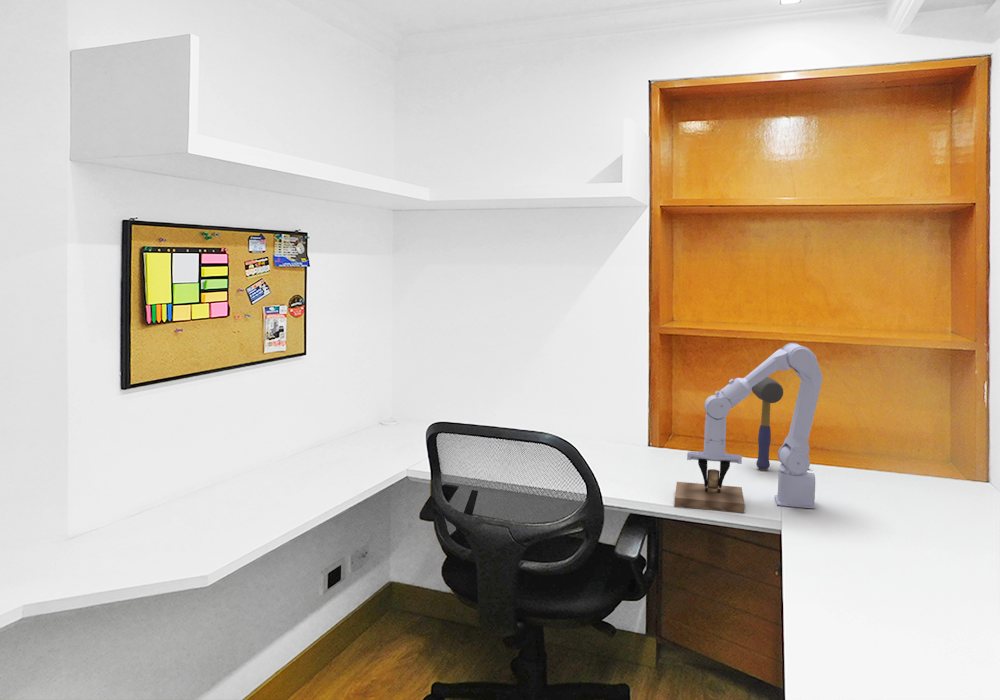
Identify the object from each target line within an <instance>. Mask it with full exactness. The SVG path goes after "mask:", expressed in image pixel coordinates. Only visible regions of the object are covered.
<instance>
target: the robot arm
mask: <svg viewBox="0 0 1000 700" xmlns="http://www.w3.org/2000/svg"><path fill="white" fill-rule="evenodd" d="M791 369H792V370H794V372H795V373H796V375H797V376H798V377H799V378H800V384H799V388H798V392H797V395H796V397H797V398H796V401H795V405H794V409H793V414H792V419H791V422H790V427H789V432H788V435H787V436H786V437H785V438H784V441H783V444H782V445H781V446H780V447H779V449H778V450H777V458H778V461H779V462H780V463H781V464H780V466H779V467H778V478H777V479H778V481H777V483H778V484H777V494H775V495H774V500H775V502H776V505H777V506H781V507H793V508H794V507H795V508H802V509H803V508H804V509H815V499H816V476H815V473H814V472H808V470H809V468H810V465H811V461H810V460H811V459H810V457H809V454H810V444H809V438H810V435H811V434H810V433H811V430H812V425H813V421H814V418H815V417H814V416H815V412H816V408H817V404H818V400H819V396H820V393H821V387H822V384H823V378H824V377H823V374H822V371H821V368H820V365H819V362H818V357H817V356H816V354H815V353H814V352H813V351H812V350H811V349H810V348H809V347H807V346H804V345H801V344H799V343H796V342H790V343H787V344H785V345H784V346H783V347H781V348H779V349H777V350H776V351H774V353H772V354H771V355H770V356H769V357H767V359H765V360H764V361H763V362H762V363H760V364H759V365H758V366H757V367H755V368H754V369H753V370H752V371H750V372H749V373H748V374H747V375H745V376H744V377H743V378H742V377H736V378H734V379H733V378H730V380H729V381H728V384H727V385H725V386H724V387H723V388H721V389H720V390H715V392H714V395H713V394H712V395H710V396H708V397H707V398H706V400H705V402H704V403H703V408H704V411H705V418H704V419H705V420H704V433H703V434H704V437H703V451H687V452H686V453H687V455H686V456H687V457H686V460H687V461H691V460H693V461H694V460H695V461H697V463H698V467H699V468H700V469H699V470H700V471H701V475H702V477H703V482H704V483H703V484H704V485H705V487H707V473H708V461H709V462H719V464H720V465H719V471H720V472H719V488H721V487H722V486H723V483H724V478H725V476H726V475H727V472H728V470H729V469H730V466H731V463H734V464H735V463H736V464H740V465H741V464H742V460H743V457H742V455H741V454H740V455H739V454H732V453H726V436H727V416H728V415H729V413H730V409H732V408H734V407H736V406H737V405H738V404H740V403H741V402H742V401H744V400H745V399H746V398H747V397H748V396H750V395H751V394H752V387H753V386H755V385H756V384H758V383H759V382H761V381H762V380H763V379H765V378H766V377H769V376H771V375H772V374H773V373H775V372H777V371H790V370H791Z"/></svg>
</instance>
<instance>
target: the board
mask: <svg viewBox="0 0 1000 700" xmlns="http://www.w3.org/2000/svg"><path fill="white" fill-rule="evenodd" d="M744 498H745V497H744V493H743V488H742V487H741V486H732V485H722V487H721V488H719V486H718V492H717V493H711V492H708V485H707V487H705V485H704V483H698V482H686V481H685V482H684V481H676V485H675V493H674V507H675V508H676V507H677V508H687V509H698V510H699V509H700V510H710V511H720V512H729V513H730V512H731V513H739V512H741V514H743V513H745V499H744ZM742 512H743V513H742Z"/></svg>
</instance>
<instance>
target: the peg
mask: <svg viewBox="0 0 1000 700" xmlns="http://www.w3.org/2000/svg"><path fill="white" fill-rule="evenodd" d="M719 477H720V469H719V470H718V469H707V485H708V492H711V493H717V492H718V486H719Z"/></svg>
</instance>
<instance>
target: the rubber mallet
mask: <svg viewBox="0 0 1000 700" xmlns="http://www.w3.org/2000/svg"><path fill="white" fill-rule="evenodd" d="M751 392H752V393H753V395H755V396H756V397H757V398H758V399H759V400H761V401H762V402H761V421H760V422H761V423H760V426H759V430H758V436H757V443H758V449H757V451H758V452H757V453H758V454H757V460H756V467H757V469H758V470H760V471H768V469H769V468H770V466H771V465H770V446H771V442H772V441H771V439H772V434H771V433H772V432H771V424H770V423H771V422H770V421H771V404H776V403H778V402H779V401H781V399H782V398H783V396H784V388H783V386H782V385H781V384H780V383H779V382H778V381H776V380H775V379H773V378H772V377H769V376H768V377H766V378H765V379H763V380H762V381H761V382H759V383H758V384H756V385H755V386H753V387H752V389H751Z"/></svg>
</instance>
